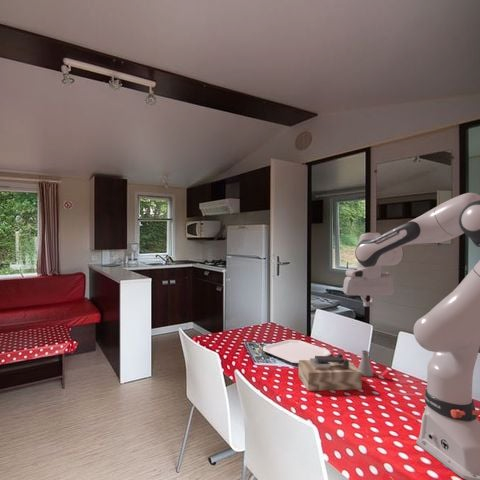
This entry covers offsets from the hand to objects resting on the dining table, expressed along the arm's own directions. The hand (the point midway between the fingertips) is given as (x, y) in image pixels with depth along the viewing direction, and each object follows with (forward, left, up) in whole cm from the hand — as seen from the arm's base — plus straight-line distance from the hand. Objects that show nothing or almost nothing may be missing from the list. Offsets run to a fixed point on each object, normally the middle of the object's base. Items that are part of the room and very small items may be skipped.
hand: (368, 306), depth 128 cm
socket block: (+5, +14, -33) cm, 36 cm away
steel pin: (+5, +18, -32) cm, 37 cm away
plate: (+39, +18, -33) cm, 54 cm away
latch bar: (+5, +14, -24) cm, 28 cm away
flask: (+13, -6, -33) cm, 36 cm away
